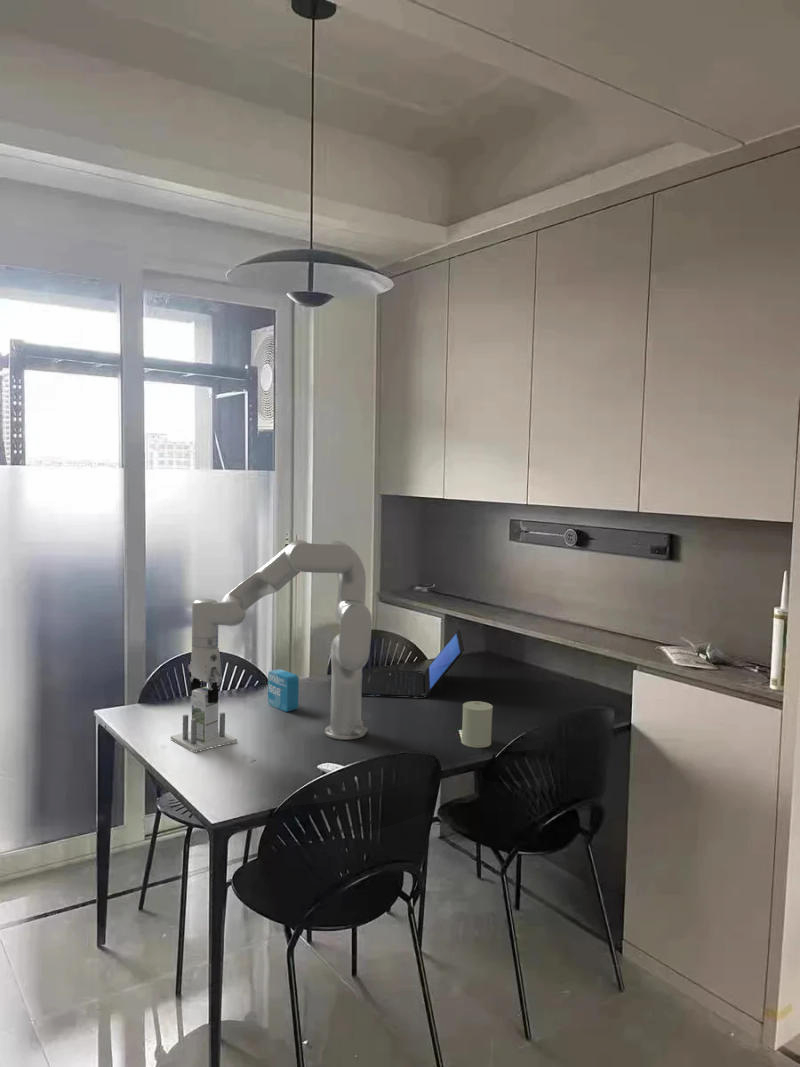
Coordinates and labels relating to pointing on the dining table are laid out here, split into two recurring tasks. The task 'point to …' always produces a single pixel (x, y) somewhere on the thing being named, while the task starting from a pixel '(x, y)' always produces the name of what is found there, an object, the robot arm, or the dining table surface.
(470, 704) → the can
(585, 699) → the dining table surface
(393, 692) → the laptop
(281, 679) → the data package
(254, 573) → the robot arm
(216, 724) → the syrup box
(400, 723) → the dining table surface
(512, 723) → the dining table surface
